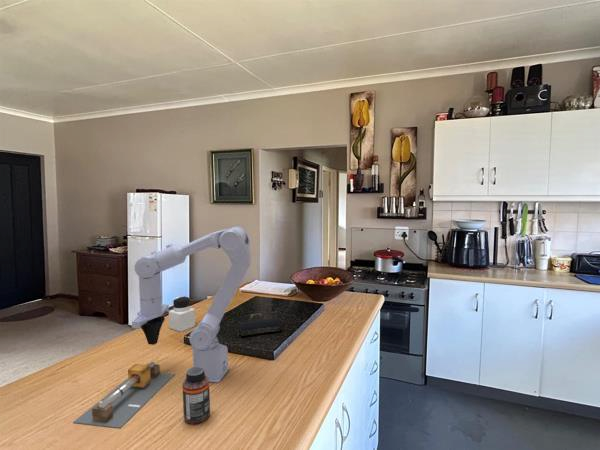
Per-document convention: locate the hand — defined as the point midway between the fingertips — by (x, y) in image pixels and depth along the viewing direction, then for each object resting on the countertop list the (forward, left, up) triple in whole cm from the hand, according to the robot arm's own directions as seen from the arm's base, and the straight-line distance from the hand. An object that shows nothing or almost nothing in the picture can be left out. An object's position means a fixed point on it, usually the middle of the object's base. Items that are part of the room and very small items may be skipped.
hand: (152, 343), depth 96 cm
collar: (0, +6, -8) cm, 11 cm away
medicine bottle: (+10, -35, -10) cm, 37 cm away
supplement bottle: (-21, +15, -10) cm, 28 cm away
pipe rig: (0, +10, -9) cm, 14 cm away
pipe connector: (-21, -37, -10) cm, 43 cm away
